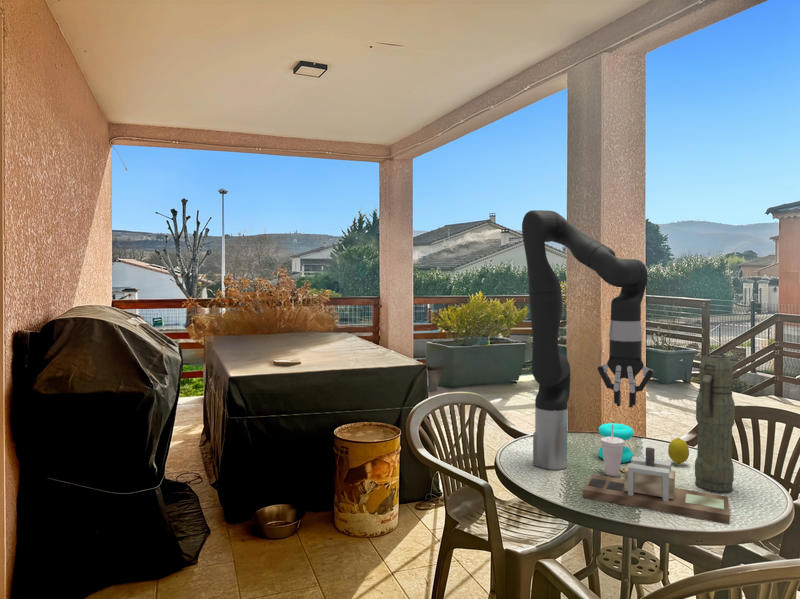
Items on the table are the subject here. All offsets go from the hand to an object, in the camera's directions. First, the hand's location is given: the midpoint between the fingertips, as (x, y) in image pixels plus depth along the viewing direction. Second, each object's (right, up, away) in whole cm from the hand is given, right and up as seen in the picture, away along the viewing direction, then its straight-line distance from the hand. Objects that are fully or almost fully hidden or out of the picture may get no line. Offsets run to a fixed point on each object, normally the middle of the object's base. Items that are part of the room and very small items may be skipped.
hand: (624, 405), depth 139 cm
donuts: (+9, -22, +29) cm, 38 cm away
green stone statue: (+26, -23, +6) cm, 35 cm away
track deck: (+6, -23, -2) cm, 24 cm away
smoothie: (+3, -23, +17) cm, 28 cm away
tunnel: (+5, -21, -2) cm, 22 cm away
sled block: (+5, -21, -2) cm, 22 cm away
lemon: (+25, -22, +23) cm, 41 cm away
